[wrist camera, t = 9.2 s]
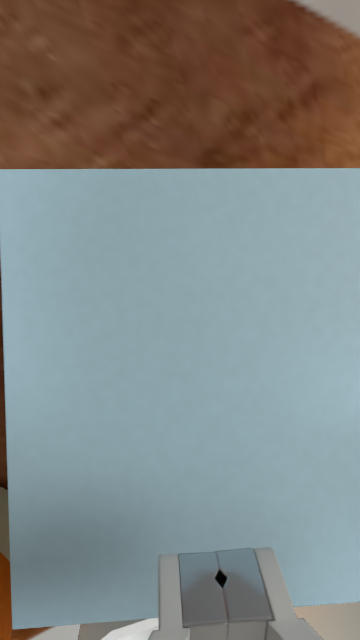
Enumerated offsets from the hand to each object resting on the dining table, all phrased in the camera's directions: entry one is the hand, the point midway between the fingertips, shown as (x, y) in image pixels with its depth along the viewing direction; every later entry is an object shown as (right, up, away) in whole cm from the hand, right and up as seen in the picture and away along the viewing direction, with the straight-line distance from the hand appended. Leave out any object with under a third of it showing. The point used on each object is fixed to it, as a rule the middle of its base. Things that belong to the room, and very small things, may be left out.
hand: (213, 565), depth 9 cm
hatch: (0, +4, +5) cm, 6 cm away
